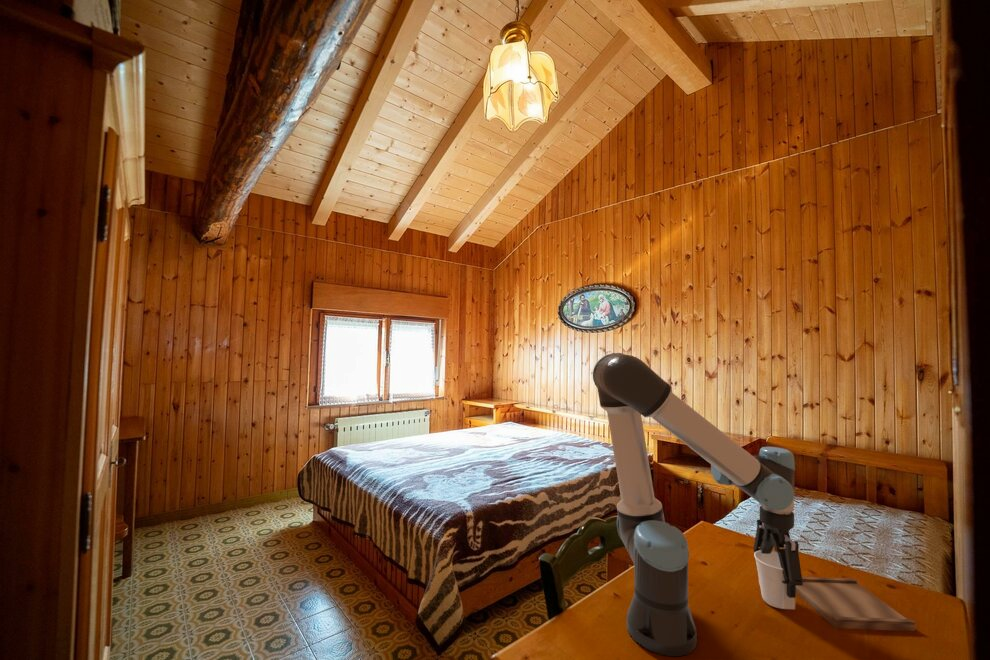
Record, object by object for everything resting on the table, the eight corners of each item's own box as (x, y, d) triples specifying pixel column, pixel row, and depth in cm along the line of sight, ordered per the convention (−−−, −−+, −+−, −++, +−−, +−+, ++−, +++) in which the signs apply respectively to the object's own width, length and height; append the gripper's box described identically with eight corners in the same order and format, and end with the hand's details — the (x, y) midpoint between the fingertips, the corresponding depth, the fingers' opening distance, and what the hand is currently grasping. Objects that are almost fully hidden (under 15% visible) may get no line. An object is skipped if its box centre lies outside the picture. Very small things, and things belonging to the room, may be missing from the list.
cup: (807, 617, 104) (807, 572, 104) (762, 611, 106) (763, 567, 106) (788, 593, 114) (788, 552, 114) (747, 588, 116) (748, 547, 116)
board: (835, 628, 101) (835, 619, 101) (786, 584, 119) (786, 576, 119) (914, 631, 100) (914, 622, 100) (853, 586, 118) (853, 578, 118)
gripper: (822, 528, 99) (821, 625, 99) (766, 493, 121) (765, 573, 121) (788, 527, 100) (788, 623, 99) (739, 492, 122) (738, 571, 121)
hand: (776, 595), depth 110 cm, fingers closed on cup, 9 cm apart
